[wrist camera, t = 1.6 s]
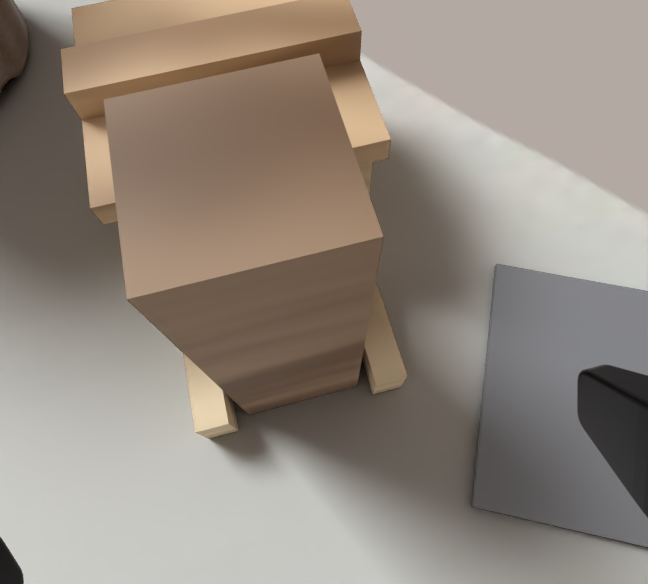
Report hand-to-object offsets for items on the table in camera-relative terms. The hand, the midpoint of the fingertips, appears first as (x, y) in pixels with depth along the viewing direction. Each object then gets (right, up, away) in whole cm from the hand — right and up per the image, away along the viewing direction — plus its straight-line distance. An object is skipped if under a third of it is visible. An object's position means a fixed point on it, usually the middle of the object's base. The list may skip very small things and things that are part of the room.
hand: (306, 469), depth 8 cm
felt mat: (+11, -1, +12) cm, 16 cm away
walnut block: (-1, 0, +13) cm, 13 cm away
